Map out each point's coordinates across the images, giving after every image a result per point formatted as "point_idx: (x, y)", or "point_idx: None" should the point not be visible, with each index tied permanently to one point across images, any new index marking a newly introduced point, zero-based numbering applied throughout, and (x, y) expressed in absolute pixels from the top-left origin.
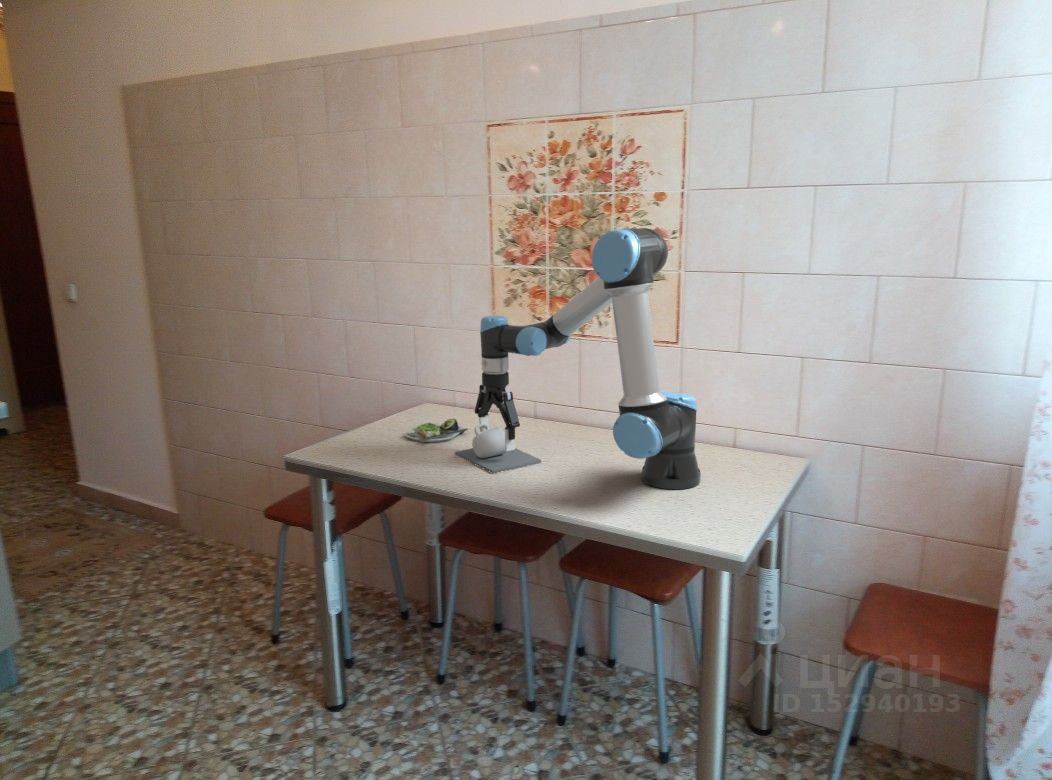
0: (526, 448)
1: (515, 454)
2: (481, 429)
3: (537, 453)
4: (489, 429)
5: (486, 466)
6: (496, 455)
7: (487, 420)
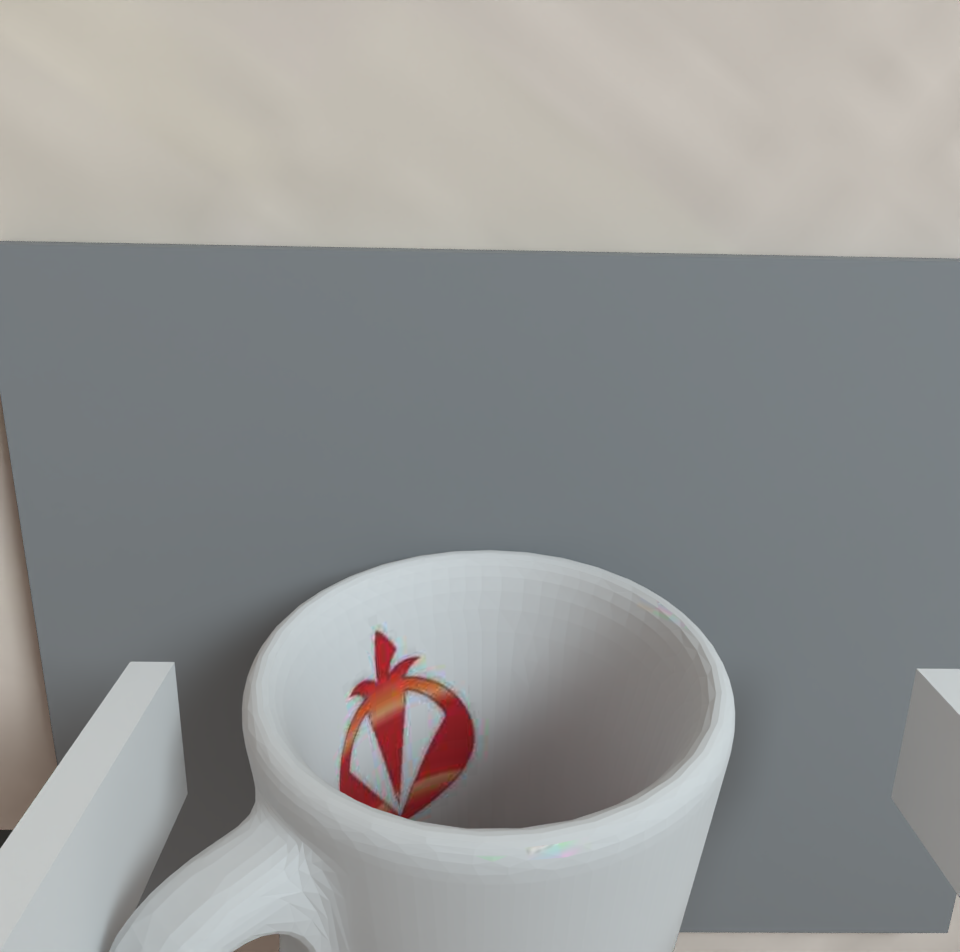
0: (402, 20)
1: (652, 423)
2: (124, 923)
3: (726, 36)
4: (317, 901)
5: (773, 912)
6: None
7: (31, 940)
